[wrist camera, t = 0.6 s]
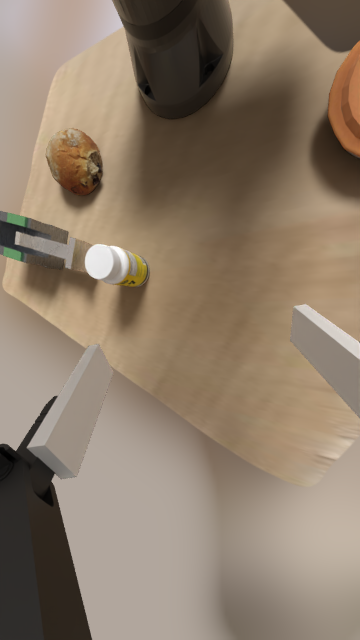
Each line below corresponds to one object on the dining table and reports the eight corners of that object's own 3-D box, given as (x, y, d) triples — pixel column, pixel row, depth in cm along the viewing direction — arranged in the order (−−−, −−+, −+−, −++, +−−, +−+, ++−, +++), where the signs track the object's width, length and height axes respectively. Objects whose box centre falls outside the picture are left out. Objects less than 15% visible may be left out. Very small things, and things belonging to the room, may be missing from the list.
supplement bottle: (122, 286, 38) (81, 282, 28) (123, 256, 37) (81, 240, 28) (150, 287, 36) (115, 283, 27) (151, 255, 36) (116, 239, 26)
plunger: (101, 247, 38) (58, 232, 29) (96, 273, 38) (52, 266, 30) (61, 237, 40) (10, 219, 32) (57, 261, 41) (7, 251, 32)
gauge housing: (68, 231, 41) (29, 216, 33) (62, 269, 42) (23, 263, 35) (34, 223, 43) (-9, 207, 36) (29, 259, 45) (-13, 251, 38)
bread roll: (104, 150, 41) (66, 105, 34) (115, 171, 35) (72, 123, 29) (75, 187, 44) (35, 152, 37) (81, 210, 39) (35, 175, 32)
